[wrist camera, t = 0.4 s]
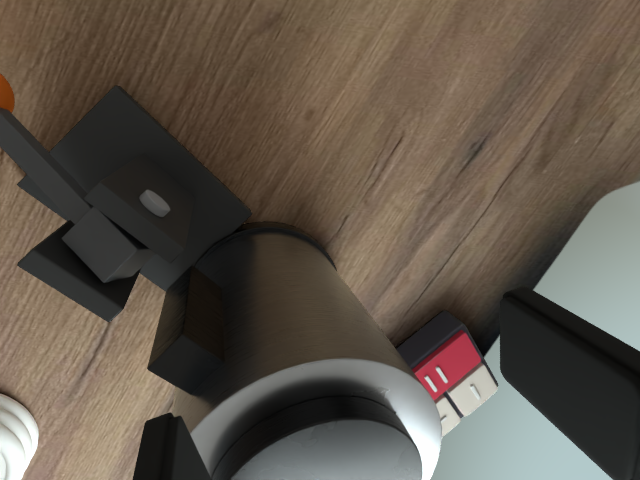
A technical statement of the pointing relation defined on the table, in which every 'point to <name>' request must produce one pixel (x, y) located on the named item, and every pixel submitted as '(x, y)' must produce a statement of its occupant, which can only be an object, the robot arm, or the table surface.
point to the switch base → (132, 202)
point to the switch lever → (71, 202)
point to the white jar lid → (16, 438)
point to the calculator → (449, 368)
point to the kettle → (288, 368)
